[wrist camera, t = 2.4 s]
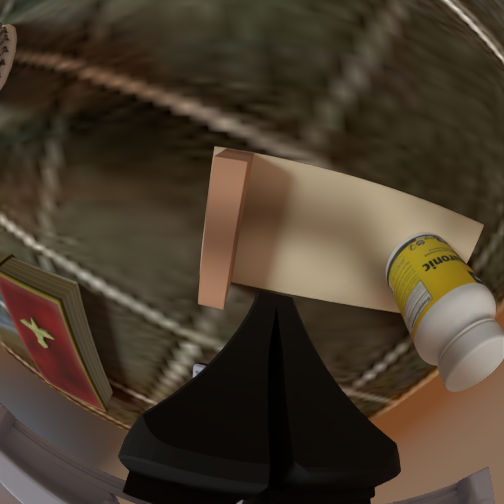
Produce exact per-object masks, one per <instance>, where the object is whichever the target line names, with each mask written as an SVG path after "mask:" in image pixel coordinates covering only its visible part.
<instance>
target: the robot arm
mask: <svg viewBox="0 0 504 504" xmlns="http://www.w3.org/2000/svg"><path fill="white" fill-rule="evenodd" d="M118 457H119V459H120V461H121V463H122V464H123V465H124V466H125V467H126V468H127V469H128V470H129V474H128V477H127V480H126V481H124V480H122V479H120V478H117V477H115V476H112V475H110V474H108V473H106V472H103V471H101V470H99V469H97V468H95V467H93V466H91V465H89V464H87V463H85V462H83V461H81V460H79V459H77V458H75V457H73V456H72V455H70V454H68V453H66V452H65V451H63V450H61V449H60V448H58V447H56V446H55V445H53V444H51V443H50V442H48V441H47V440H45V439H44V438H42V437H40V436H39V435H38V434H36V433H35V432H33V431H32V430H30V429H29V428H28V427H26V426H25V425H23V424H22V423H21V422H20V421H18V420H17V419H16V418H15V416H14V415H13V414H12V413H11V412H10V411H9V410H8V409H7V408H5V406H3V405H2V404H1V403H0V482H1V483H2V485H4V486H5V487H6V489H7V490H9V491H10V492H11V493H12V494H13V495H14V496H15V497H16V498H17V499H18V500H19V501H20V502H21V503H23V504H120V503H119V502H118V499H117V498H116V496H118V497H120V498H122V499H125V500H128V501H130V502H133V503H135V504H371V503H370V498H372V497H374V496H375V487H376V486H378V485H381V484H383V483H385V482H387V481H389V480H391V479H393V478H395V477H396V476H397V475H398V474H399V473H400V472H401V468H400V459H399V453H398V449H397V445H396V443H395V442H394V441H392V440H391V439H390V438H389V437H388V436H386V435H385V434H384V433H383V432H382V431H381V430H379V429H378V428H377V427H376V426H375V425H374V424H373V423H372V422H371V421H369V420H368V419H367V418H366V417H365V416H364V415H363V414H362V413H361V412H360V410H359V409H358V408H357V407H356V406H355V405H354V404H353V403H352V401H351V400H350V399H349V398H348V397H347V395H346V394H345V393H344V392H343V391H342V389H341V388H340V387H339V385H338V384H337V383H336V381H335V380H334V379H333V377H332V376H331V374H330V373H329V371H328V370H327V368H326V366H325V365H324V363H323V362H322V360H321V358H320V356H319V355H318V353H317V351H316V349H315V347H314V346H313V344H312V342H311V340H310V338H309V335H308V333H307V331H306V329H305V327H304V325H303V323H302V320H301V318H300V316H299V313H298V311H297V308H296V305H295V303H294V300H293V299H292V297H288V296H282V295H277V294H272V293H267V292H262V291H259V292H257V293H256V295H255V299H254V302H253V304H252V306H251V308H250V310H249V312H248V314H247V316H246V317H245V319H244V321H243V322H242V324H241V325H240V327H239V328H238V330H237V331H236V332H235V334H234V335H233V336H232V338H231V339H230V340H229V342H228V343H227V344H226V345H225V347H224V348H223V349H222V350H221V351H220V352H219V353H218V354H217V356H216V357H215V358H214V359H213V360H212V361H211V362H210V363H209V364H208V365H207V366H205V365H201V364H195V365H194V368H193V379H191V380H190V381H189V382H188V383H186V384H185V385H184V386H182V387H181V388H180V389H179V390H177V391H176V392H175V393H173V394H172V395H171V396H169V397H168V398H166V399H165V400H163V401H162V402H160V403H158V404H157V405H155V406H154V407H152V408H150V409H149V410H147V411H146V412H144V413H143V414H142V415H141V416H140V417H139V418H138V420H137V421H136V422H135V423H134V425H133V426H132V428H131V429H130V430H129V432H128V434H127V436H126V437H125V439H124V442H123V444H122V447H121V450H120V452H119V455H118ZM114 495H115V496H114ZM389 504H495V500H494V493H493V487H492V481H491V476H490V472H489V467H486V468H484V469H482V470H480V471H478V472H476V473H473V474H471V475H469V476H467V477H466V478H464V479H462V480H460V481H458V483H455V484H452V485H450V486H447V487H444V488H442V489H439V490H436V491H433V492H430V493H427V494H424V495H420V496H417V497H413V498H410V499H406V500H402V501H398V502H393V503H389Z"/></svg>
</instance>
